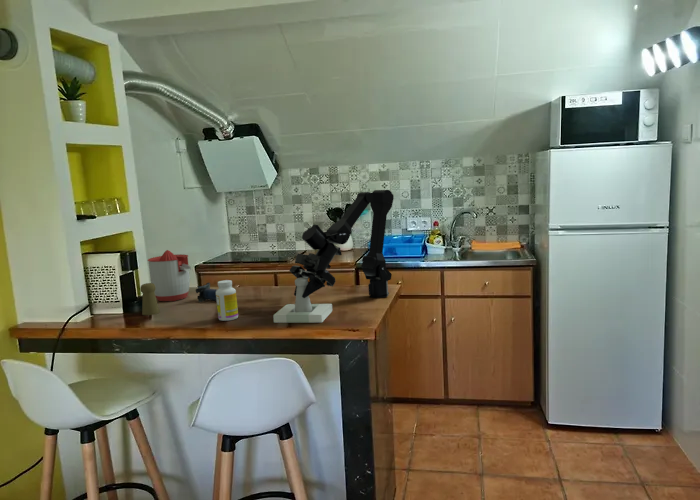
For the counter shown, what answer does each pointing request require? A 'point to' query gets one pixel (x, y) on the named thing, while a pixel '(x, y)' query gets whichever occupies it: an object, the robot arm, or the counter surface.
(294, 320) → the square frame holder
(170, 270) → the citrus juicer
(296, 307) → the grey pestle
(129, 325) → the counter surface
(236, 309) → the supplement bottle
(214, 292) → the dark blue irregular lump
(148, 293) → the cork
